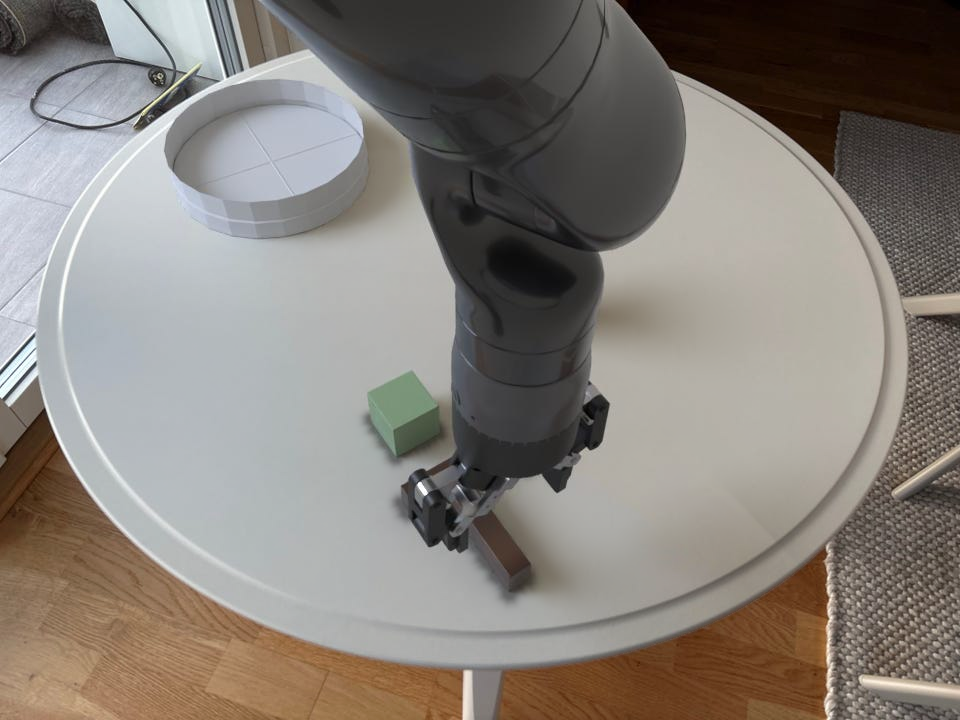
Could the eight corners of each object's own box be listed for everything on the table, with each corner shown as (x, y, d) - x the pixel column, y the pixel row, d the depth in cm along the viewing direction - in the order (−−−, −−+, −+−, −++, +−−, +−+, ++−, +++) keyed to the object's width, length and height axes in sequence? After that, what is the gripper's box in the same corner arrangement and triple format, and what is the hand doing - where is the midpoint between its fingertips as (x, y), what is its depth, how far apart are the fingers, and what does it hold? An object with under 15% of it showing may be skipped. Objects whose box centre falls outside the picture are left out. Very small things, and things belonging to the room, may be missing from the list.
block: (439, 433, 69) (439, 405, 66) (396, 457, 68) (393, 430, 64) (413, 398, 72) (411, 369, 68) (371, 420, 70) (366, 392, 66)
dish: (150, 147, 92) (136, 111, 88) (322, 94, 99) (317, 59, 95) (213, 266, 81) (201, 230, 77) (402, 196, 88) (400, 161, 84)
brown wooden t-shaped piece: (558, 558, 63) (562, 543, 60) (476, 613, 60) (477, 599, 57) (481, 457, 68) (482, 439, 66) (402, 502, 65) (400, 485, 63)
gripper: (446, 496, 39) (450, 607, 52) (659, 371, 44) (614, 501, 57) (373, 392, 43) (394, 520, 56) (578, 288, 48) (553, 427, 61)
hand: (505, 510), depth 56 cm, fingers open, 8 cm apart
